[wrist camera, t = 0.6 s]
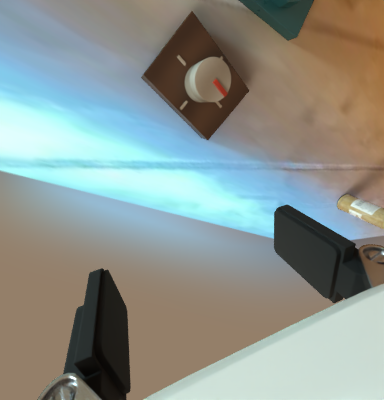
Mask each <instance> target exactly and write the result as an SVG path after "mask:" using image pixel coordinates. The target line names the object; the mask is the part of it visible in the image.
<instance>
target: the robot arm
mask: <svg viewBox="0 0 384 400" xmlns="http://www.w3.org/2000/svg"><path fill="white" fill-rule="evenodd" d="M355 245H356V244H355V243H353V242H351V241H350V240H348V239H346V238H344V237H343V236H341V235H339V234H337V233H336V232H334V231H332V230H331V229H329V228H327V227H325V226H324V225H322V224H320V223H319V222H317V221H315V220H313V219H312V218H310V217H308V216H306V215H305V214H303V213H301V212H300V211H298V210H296V209H294V208H293V207H291V206H289V205H284V206H281V207H278V208H277V209H276V211H275V213H274V249H275V251H276V253H277V254H278V255H279V256H280V257H281V258H282V259H283V260H285V261H286V262H287V263H288V264H289V265H290V266H291V267H292V268H293V269H294V270H295V271H296V272H297V273H299V274H300V275H301V276H302V277H303V278H304V279H305V280H306V281H307V282H308V283H309V284H310V285H311V286H313V287H314V288H315V289H316V290H317V291H318V292H319V293H320V294H321V295H322V296H323V297H325V298H328V299H330V300H331V301H332V302H333V303H336V302H338V301H340V300H342V299H343V297H344V298H345V299H346V300H344V301H341V302H339V303H337V304H335V305H333V306H331V307H329V308H327V309H325V310H323V311H321V312H318V313H317V314H314V315H312V316H310V317H308V318H306V319H304V320H302V321H300V322H298V323H296V324H293V325H291V326H289V327H287V328H285V329H283V330H281V331H279V332H277V333H275V334H273V335H271V336H269V337H267V338H265V339H262V340H260V341H259V342H256V343H255V344H252V345H250V346H248V347H246V348H244V349H242V350H240V351H238V352H236V353H234V354H232V355H230V356H228V357H226V358H224V359H222V360H220V361H218V362H216V363H214V364H211V365H209V366H208V367H205V368H203V369H201V370H199V371H197V372H195V373H193V374H191V375H189V376H187V377H185V378H183V379H181V380H180V381H178V382H176V383H174V384H172V385H170V386H168V387H166V388H164V389H162V390H160V391H158V392H156V393H154V394H152V395H150V396H149V397H147V398H145V399H144V400H384V247H383V246H379V245H373V244H371V245H370V244H368V245H363V246H361V247H360V248H359V250H358V249H357V248H355ZM128 342H129V341H128V319H127V309H126V305H125V303H124V301H123V299H122V297H121V295H120V293H119V291H118V289H117V287H116V285H115V283H114V281H113V279H112V277H111V275H110V273H109V271H108V270H105V271H104V269H99V270H96V271H93V272H90V274H89V278H88V284H87V290H86V296H85V301H84V305H83V306H80V307H78V309H77V311H76V315H75V320H74V325H73V329H72V334H71V339H70V344H69V349H68V353H67V358H66V363H65V368H64V373H63V375H61V376H59V377H57V378H56V379H54V380H53V381H52V382H51V383H50V384H49V385H48V386H47V387H46V388H45V389H44V390H43V392H42V393H41V394H40V396H39V398H38V399H37V400H126V394H127V393H129V392H130V365H129V343H128Z"/></svg>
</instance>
